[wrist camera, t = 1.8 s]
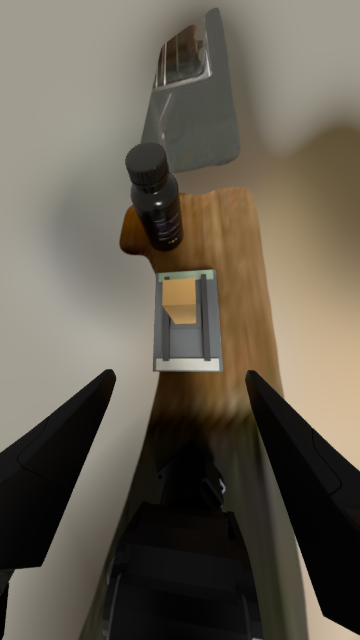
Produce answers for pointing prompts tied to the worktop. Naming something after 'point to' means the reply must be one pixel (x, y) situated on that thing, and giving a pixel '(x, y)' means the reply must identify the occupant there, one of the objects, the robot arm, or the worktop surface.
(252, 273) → the worktop surface
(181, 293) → the handle
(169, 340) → the grey rail base
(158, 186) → the supplement bottle
